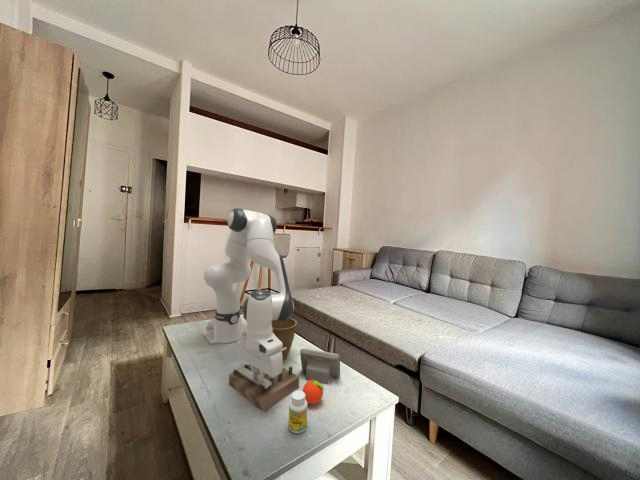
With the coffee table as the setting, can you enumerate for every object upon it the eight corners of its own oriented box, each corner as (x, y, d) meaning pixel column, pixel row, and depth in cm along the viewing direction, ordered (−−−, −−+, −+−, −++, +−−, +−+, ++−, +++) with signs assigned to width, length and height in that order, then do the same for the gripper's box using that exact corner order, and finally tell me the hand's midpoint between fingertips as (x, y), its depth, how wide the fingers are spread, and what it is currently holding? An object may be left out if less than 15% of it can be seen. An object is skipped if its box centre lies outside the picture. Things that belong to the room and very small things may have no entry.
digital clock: (342, 376, 97) (343, 350, 96) (333, 389, 89) (334, 361, 88) (306, 365, 104) (307, 340, 104) (295, 376, 96) (296, 349, 95)
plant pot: (298, 364, 104) (299, 327, 103) (262, 368, 100) (263, 330, 99) (292, 347, 118) (293, 315, 118) (261, 350, 114) (262, 317, 114)
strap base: (228, 384, 89) (229, 366, 89) (264, 366, 102) (264, 350, 101) (263, 411, 77) (264, 391, 76) (298, 387, 89) (299, 369, 89)
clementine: (328, 398, 84) (329, 378, 83) (321, 412, 77) (322, 391, 77) (307, 392, 87) (308, 372, 86) (298, 405, 80) (299, 384, 80)
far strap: (256, 363, 96) (256, 361, 97) (262, 360, 99) (262, 358, 99) (280, 351, 88) (279, 349, 88) (286, 348, 90) (285, 346, 90)
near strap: (236, 372, 89) (236, 370, 89) (243, 369, 92) (243, 366, 92) (264, 389, 79) (264, 386, 79) (272, 384, 82) (272, 382, 82)
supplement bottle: (308, 421, 74) (309, 390, 73) (304, 435, 68) (305, 402, 68) (291, 418, 75) (292, 387, 74) (286, 432, 69) (287, 399, 69)
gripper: (233, 333, 87) (233, 370, 88) (271, 352, 75) (270, 396, 75) (248, 328, 92) (248, 363, 93) (286, 345, 79) (285, 386, 80)
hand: (258, 378), depth 84 cm, fingers closed
